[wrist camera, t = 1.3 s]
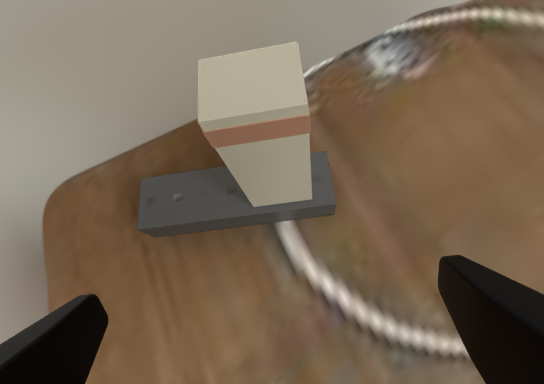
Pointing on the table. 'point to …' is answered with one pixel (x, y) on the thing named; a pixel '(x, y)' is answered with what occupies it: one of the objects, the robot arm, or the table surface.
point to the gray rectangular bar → (222, 201)
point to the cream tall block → (259, 121)
